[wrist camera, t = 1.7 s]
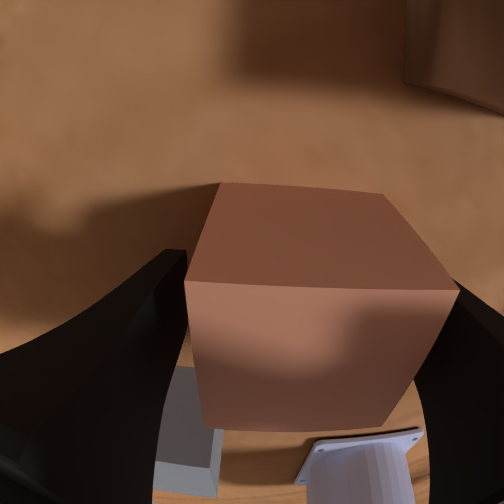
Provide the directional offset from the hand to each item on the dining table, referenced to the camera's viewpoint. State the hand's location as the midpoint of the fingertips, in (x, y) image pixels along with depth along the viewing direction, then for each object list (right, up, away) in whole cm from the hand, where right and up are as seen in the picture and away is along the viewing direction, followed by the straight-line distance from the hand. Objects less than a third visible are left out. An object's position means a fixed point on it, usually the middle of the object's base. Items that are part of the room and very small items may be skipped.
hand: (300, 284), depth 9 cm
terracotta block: (0, +1, +1) cm, 2 cm away
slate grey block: (-5, -6, +6) cm, 10 cm away
